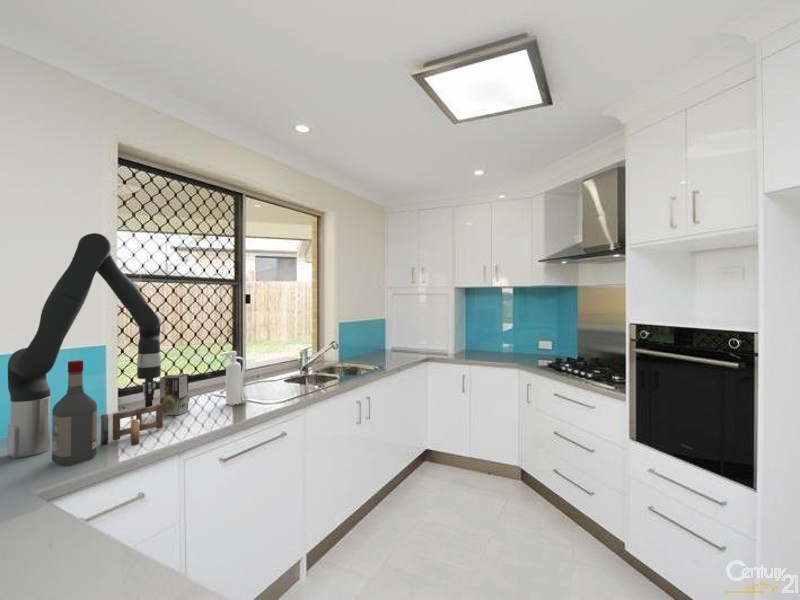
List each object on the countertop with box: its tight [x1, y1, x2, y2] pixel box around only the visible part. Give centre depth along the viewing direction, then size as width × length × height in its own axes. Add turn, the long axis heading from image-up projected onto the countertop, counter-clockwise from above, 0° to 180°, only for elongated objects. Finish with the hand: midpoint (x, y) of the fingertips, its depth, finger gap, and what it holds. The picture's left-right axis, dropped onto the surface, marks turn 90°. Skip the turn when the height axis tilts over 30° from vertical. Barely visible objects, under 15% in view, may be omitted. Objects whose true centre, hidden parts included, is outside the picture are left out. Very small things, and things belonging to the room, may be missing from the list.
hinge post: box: [100, 413, 109, 446], centre depth 130 cm, size 2×2×10 cm
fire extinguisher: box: [219, 350, 250, 406], centre depth 183 cm, size 7×12×25 cm, turn 108°
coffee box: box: [159, 374, 189, 416], centre depth 167 cm, size 9×6×16 cm
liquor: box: [51, 360, 98, 467], centre depth 117 cm, size 9×9×30 cm
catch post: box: [130, 418, 140, 446], centre depth 130 cm, size 2×2×8 cm
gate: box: [112, 403, 164, 441], centre depth 139 cm, size 16×2×9 cm, turn 149°
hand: (148, 410), depth 146 cm, fingers closed
